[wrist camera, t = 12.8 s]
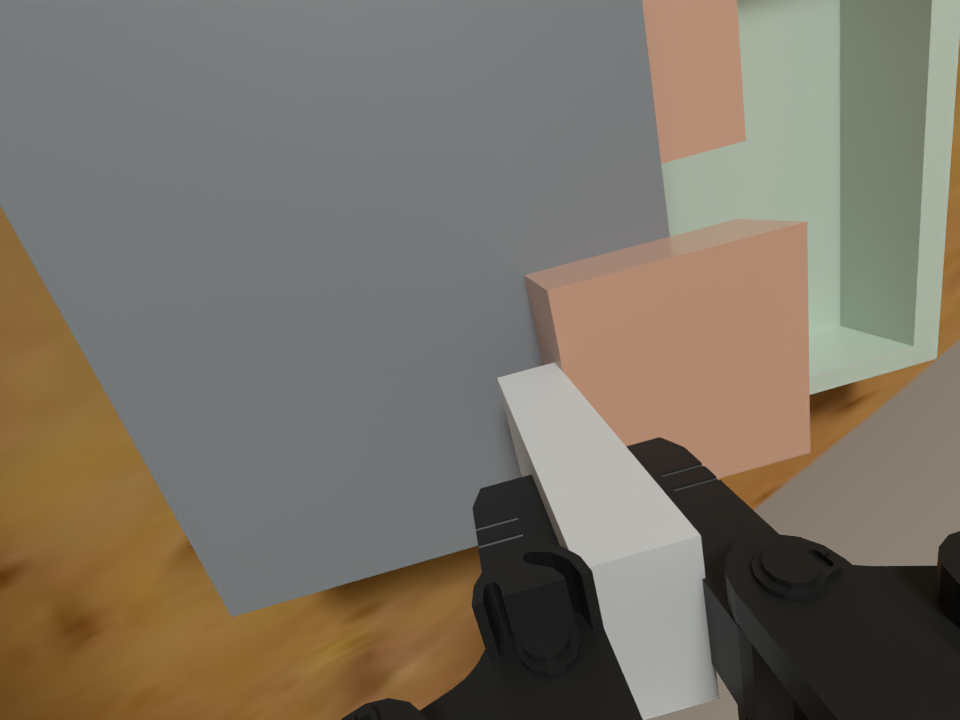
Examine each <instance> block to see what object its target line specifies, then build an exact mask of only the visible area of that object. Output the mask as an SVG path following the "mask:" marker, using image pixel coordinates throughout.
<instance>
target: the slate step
mask: <svg viewBox="0 0 960 720" xmlns="http://www.w3.org/2000/svg"><path fill="white" fill-rule="evenodd" d="M0 206H1V207H2V209H3V211H4V213H5V215H6V216H7V218H8V220H9V222H10V223H11V225H12V227H13V229H14V231H15V232H16V234H17V236H18V238H19V239H20V241H21V243H22V245H23V247H24V248H25V250H26V252H27V254H28V255H29V257H30V259H31V261H32V263H33V264H34V266H35V268H36V270H37V271H38V273H39V275H40V277H41V279H42V280H43V282H44V284H45V286H46V287H47V289H48V291H49V293H50V295H51V296H52V298H53V300H54V302H55V303H56V305H57V307H58V309H59V311H60V312H61V314H62V316H63V318H64V319H65V321H66V323H67V325H68V327H69V328H70V330H71V332H72V334H73V335H74V337H75V339H76V341H77V343H78V344H79V346H80V348H81V350H82V351H83V353H84V355H85V357H86V359H87V360H88V362H89V364H90V366H91V367H92V369H93V371H94V373H95V375H96V376H97V378H98V380H99V382H100V383H101V385H102V387H103V389H104V391H105V392H106V394H107V396H108V398H109V399H110V401H111V403H112V405H113V407H114V408H115V410H116V412H117V414H118V416H119V417H120V419H121V421H122V423H123V424H124V426H125V428H126V430H127V432H128V433H129V435H130V437H131V439H132V440H133V442H134V444H135V446H136V448H137V449H138V451H139V453H140V455H141V456H142V458H143V460H144V462H145V464H146V465H147V467H148V469H149V471H150V472H151V474H152V476H153V478H154V480H155V481H156V483H157V485H158V487H159V488H160V490H161V492H162V494H163V496H164V497H165V499H166V501H167V503H168V504H169V506H170V508H171V510H172V512H173V513H174V515H175V517H176V519H177V520H178V522H179V524H180V526H181V528H182V529H183V531H184V533H185V535H186V536H187V538H188V540H189V542H190V544H191V545H192V547H193V549H194V551H195V552H196V554H197V556H198V558H199V560H200V561H201V563H202V565H203V567H204V568H205V570H206V572H207V574H208V576H209V577H210V579H211V581H212V583H213V584H214V586H215V588H216V590H217V592H218V593H219V595H220V597H221V599H222V600H223V602H224V604H225V606H226V608H227V609H228V611H229V613H230V615H231V616H232V617H233V616H237V615H240V614H244V613H247V612H251V611H254V610H258V609H261V608H264V607H268V606H271V605H275V604H278V603H282V602H285V601H289V600H292V599H295V598H299V597H302V596H306V595H309V594H313V593H316V592H320V591H323V590H327V589H330V588H333V587H337V586H340V585H344V584H347V583H351V582H354V581H358V580H361V579H365V578H368V577H371V576H375V575H378V574H382V573H385V572H389V571H392V570H396V569H399V568H402V567H406V566H409V565H413V564H416V563H420V562H423V561H427V560H430V559H434V558H437V557H440V556H444V555H447V554H451V553H454V552H458V551H461V550H465V549H468V548H472V547H475V546H478V542H477V535H476V528H475V522H474V516H473V509H472V508H473V505H474V503H475V500H476V498H477V496H478V493H479V491H480V488H484V487H488V486H491V485H495V484H498V483H502V482H506V481H509V480H513V479H517V478H520V477H522V475H521V472H520V468H519V464H518V460H517V456H516V452H515V448H514V444H513V440H512V436H511V432H510V428H509V424H508V420H507V416H506V412H505V408H504V404H503V400H502V396H501V392H500V388H499V384H498V380H497V378H498V377H502V376H506V375H510V374H513V373H517V372H521V371H524V370H528V369H532V368H536V367H539V366H543V362H542V358H541V353H540V348H539V343H538V339H537V334H536V329H535V325H534V320H533V315H532V310H531V306H530V301H529V296H528V292H527V287H526V282H525V277H524V275H527V274H530V273H534V272H538V271H542V270H545V269H549V268H553V267H557V266H561V265H564V264H568V263H572V262H576V261H579V260H583V259H587V258H591V257H595V256H598V255H602V254H606V253H610V252H614V251H617V250H621V249H625V248H629V247H633V246H636V245H640V244H644V243H648V242H651V241H655V240H659V239H663V238H667V237H670V234H669V226H668V217H667V208H666V200H665V191H664V183H663V174H662V166H661V157H660V149H659V140H658V132H657V123H656V115H655V106H654V98H653V89H652V81H651V72H650V64H649V55H648V47H647V38H646V30H645V21H644V13H643V4H642V0H0Z"/></svg>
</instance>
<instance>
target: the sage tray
mask: <svg viewBox="0 0 960 720" xmlns="http://www.w3.org/2000/svg"><path fill="white" fill-rule="evenodd" d="M737 8H738V24H739V40H740V55H741V71H742V87H743V102H744V118H745V134H746V141H743V142H739V143H735V144H732V145H728V146H724V147H721V148H717V149H713V150H710V151H706V152H702V153H699V154H695V155H691V156H688V157H684V158H681V159H677V160H673V161H670V162H666V163H662V164H661V166H662V174H663V183H664V191H665V200H666V208H667V217H668V226H669V234H670V236H674V235H678V234H682V233H685V232H689V231H693V230H697V229H700V228H704V227H708V226H712V225H716V224H719V223H723V222H727V221H731V220H735V219H753V220H780V221H807V243H808V315H809V389H810V395H811V394H815V393H818V392H822V391H825V390H829V389H832V388H836V387H839V386H843V385H846V384H850V383H853V382H857V381H860V380H863V379H867V378H870V377H874V376H877V375H881V374H884V373H888V372H891V371H895V370H898V369H902V368H905V367H909V366H912V365H916V364H919V363H923V362H926V361H930V360H933V359H937V348H938V334H939V320H940V306H941V292H942V278H943V263H944V249H945V235H946V221H947V207H948V193H949V179H950V164H951V150H952V136H953V122H954V108H955V94H956V79H957V65H958V51H959V37H960V0H737Z"/></svg>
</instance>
